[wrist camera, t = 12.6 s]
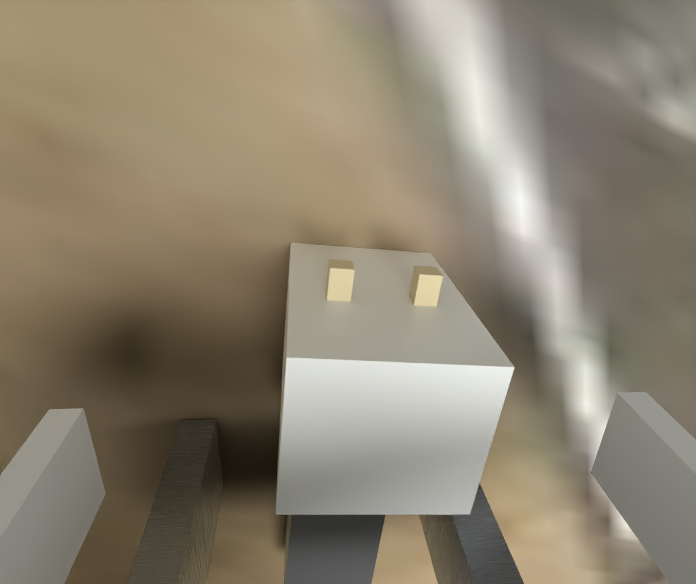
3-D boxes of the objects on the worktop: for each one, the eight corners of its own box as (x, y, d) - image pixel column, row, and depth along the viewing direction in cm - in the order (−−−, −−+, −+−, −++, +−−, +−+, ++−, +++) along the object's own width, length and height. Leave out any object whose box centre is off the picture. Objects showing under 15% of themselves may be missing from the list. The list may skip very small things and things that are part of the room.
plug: (374, 542, 26) (405, 728, 18) (270, 543, 25) (259, 737, 18) (435, 228, 18) (525, 331, 11) (292, 216, 18) (289, 318, 10)
